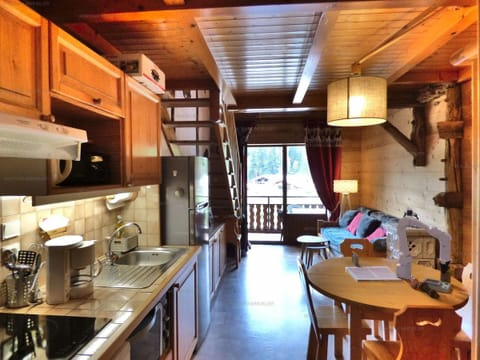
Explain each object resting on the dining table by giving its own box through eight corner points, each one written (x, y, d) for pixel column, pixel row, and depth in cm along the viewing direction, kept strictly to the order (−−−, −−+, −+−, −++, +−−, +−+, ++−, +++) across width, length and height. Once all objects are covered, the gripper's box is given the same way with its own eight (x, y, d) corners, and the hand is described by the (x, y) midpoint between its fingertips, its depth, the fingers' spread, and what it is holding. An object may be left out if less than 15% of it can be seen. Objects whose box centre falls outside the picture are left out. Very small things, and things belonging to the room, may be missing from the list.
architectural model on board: (351, 261, 260) (351, 250, 260) (354, 261, 260) (355, 250, 259) (354, 265, 249) (354, 253, 249) (358, 265, 248) (358, 253, 248)
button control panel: (422, 287, 201) (422, 281, 201) (425, 282, 211) (425, 276, 210) (447, 292, 192) (447, 286, 192) (450, 287, 201) (450, 281, 201)
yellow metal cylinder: (453, 283, 209) (453, 266, 208) (447, 286, 204) (448, 268, 204) (441, 280, 215) (442, 263, 214) (435, 282, 210) (436, 265, 210)
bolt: (435, 302, 183) (421, 291, 198) (443, 298, 182) (428, 288, 197) (431, 294, 182) (417, 284, 197) (439, 290, 182) (424, 280, 197)
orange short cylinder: (409, 287, 202) (410, 277, 201) (411, 285, 205) (411, 276, 205) (417, 289, 199) (417, 279, 198) (418, 287, 202) (419, 277, 202)
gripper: (451, 255, 193) (450, 276, 194) (453, 250, 204) (453, 270, 205) (437, 253, 198) (437, 273, 198) (441, 248, 209) (440, 268, 209)
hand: (444, 272), depth 202 cm, fingers open, 7 cm apart
